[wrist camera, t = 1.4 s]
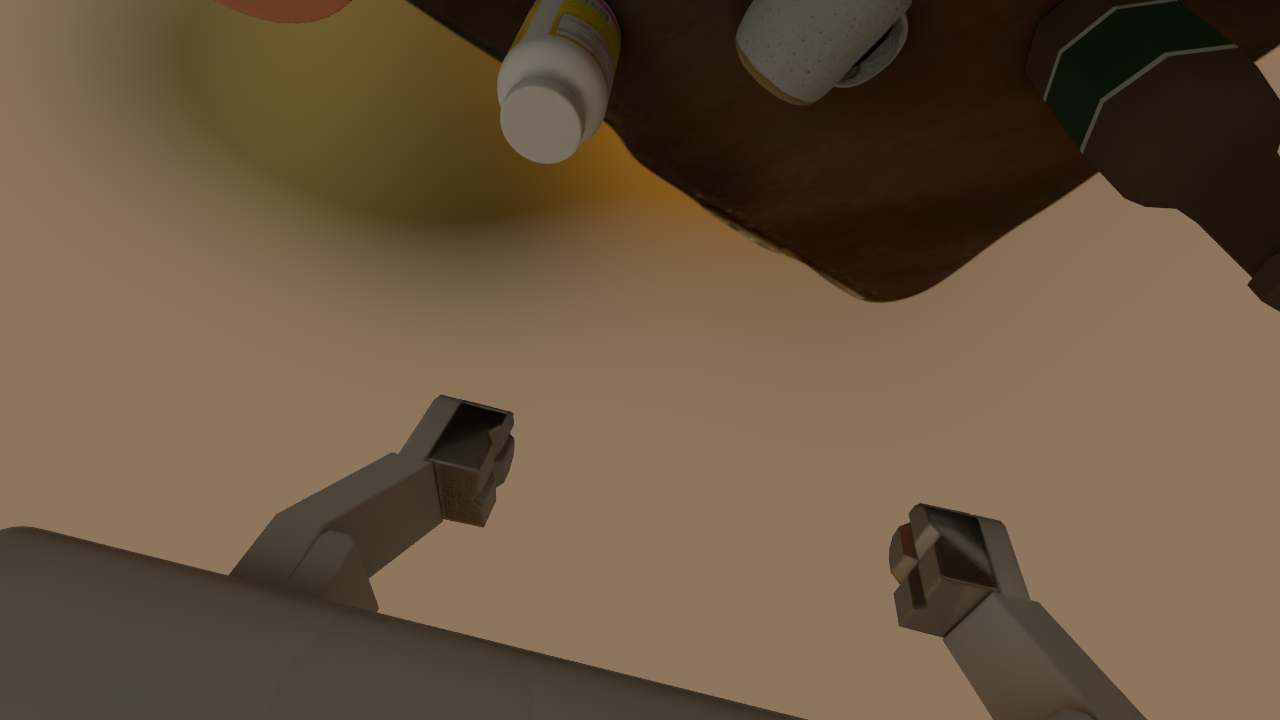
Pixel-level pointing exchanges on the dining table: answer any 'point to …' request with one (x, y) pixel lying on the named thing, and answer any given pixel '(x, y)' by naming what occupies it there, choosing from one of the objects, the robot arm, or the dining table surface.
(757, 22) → the ceramic mug
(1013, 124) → the dining table surface
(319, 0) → the lid
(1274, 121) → the beer bottle
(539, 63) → the supplement bottle
